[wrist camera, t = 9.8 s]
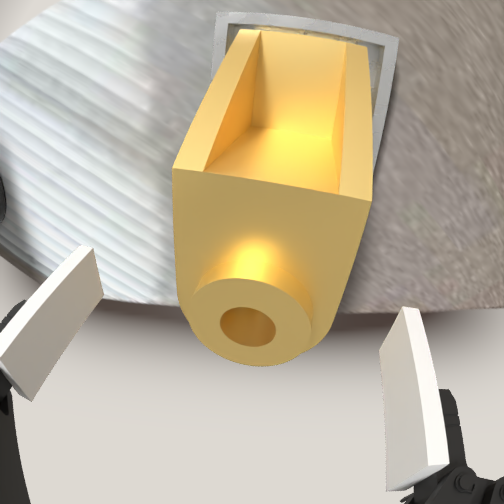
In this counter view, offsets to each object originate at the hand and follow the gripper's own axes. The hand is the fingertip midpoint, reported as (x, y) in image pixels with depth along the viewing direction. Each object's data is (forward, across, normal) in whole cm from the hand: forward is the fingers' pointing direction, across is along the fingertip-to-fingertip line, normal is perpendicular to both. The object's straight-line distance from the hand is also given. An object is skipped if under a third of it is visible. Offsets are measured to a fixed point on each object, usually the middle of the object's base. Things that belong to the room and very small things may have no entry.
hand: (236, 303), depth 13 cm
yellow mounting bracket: (+19, +1, +1) cm, 19 cm away
